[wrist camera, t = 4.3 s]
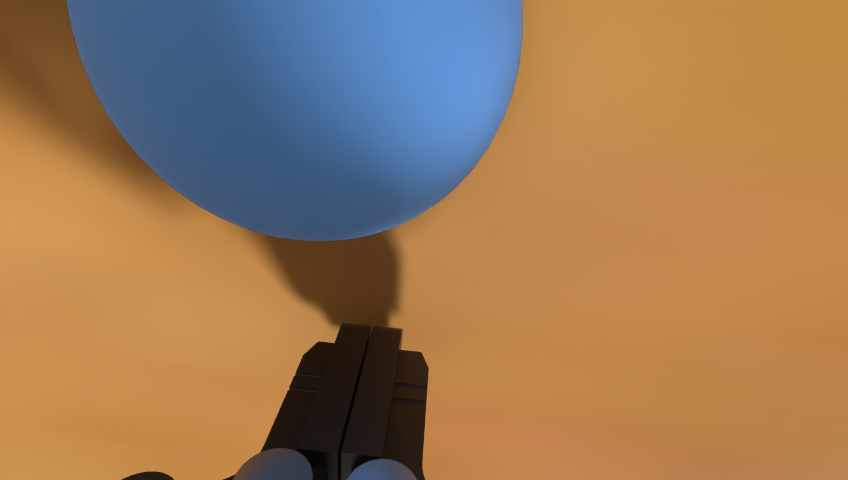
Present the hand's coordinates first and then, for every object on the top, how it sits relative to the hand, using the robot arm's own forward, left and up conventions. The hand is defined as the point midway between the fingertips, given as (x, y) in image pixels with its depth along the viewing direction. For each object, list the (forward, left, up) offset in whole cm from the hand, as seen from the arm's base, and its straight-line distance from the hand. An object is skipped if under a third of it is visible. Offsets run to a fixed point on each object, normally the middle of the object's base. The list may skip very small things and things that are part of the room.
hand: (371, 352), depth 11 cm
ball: (-6, -4, +2) cm, 7 cm away
